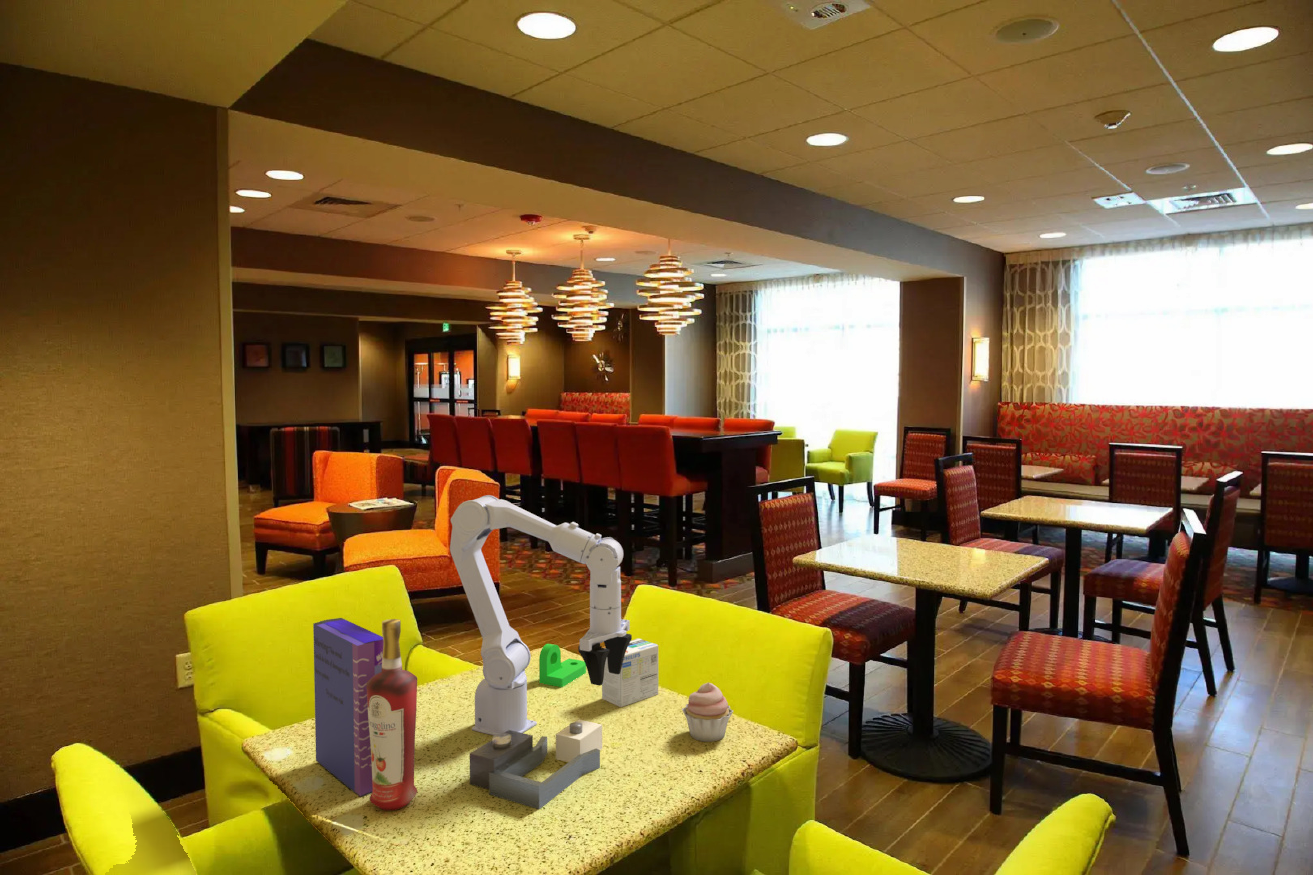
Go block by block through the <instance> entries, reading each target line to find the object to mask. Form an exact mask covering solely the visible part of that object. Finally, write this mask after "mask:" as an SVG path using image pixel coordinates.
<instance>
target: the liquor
mask: <svg viewBox="0 0 1313 875" xmlns="http://www.w3.org/2000/svg"><path fill="white" fill-rule="evenodd" d="M401 628H402V627H401V620H400V619H398V618H397V619H396V618H392V619H385V620H382V622H381V633H382V634H381V636H382V637H383V641H384V645H383V658H382V671H381V672H380V673H378V674H376V675H374V676H373V677H372V678H371V679H370V680H369V681H368V682H367V684H366V687H367V703H368V720H369V732H370V744H371V762H372V785H373V792H372V793H371V794H370V796H369V801H370V802H371V804H372V805H374V806H375V807H376V808H379V809H380V810H382V811H389V812H390V811H391V812H392V811H397V810H401V809H402V808H404V807H406V806H408V804H409V803H410V802H412V800H413V799H414V798H415V797H416V795H417V793H418V789H417V787H416V785H415V751H416V750H415V749H416V728H417V727H416V725H417V709H418V708H417V706H418V705H417V703H418V702H417V699H418V677H417V676H416V675H415V674H413V673H412V672H411V671H409V670H406V669H403V663H402V655H401V647H400V637H401V630H402V629H401Z"/></svg>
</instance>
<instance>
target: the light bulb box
mask: <svg viewBox="0 0 1313 875" xmlns="http://www.w3.org/2000/svg"><path fill="white" fill-rule="evenodd" d="M604 648H605V647H604ZM605 649H606V648H605ZM656 695H659V645H658V644H657V643H655V642H654V643H653V642H650V641H647V640H644V639H642V638H635V639H632V640H631V641H630V643H629V645H628V647H627V650H626V652H625V656H624V660H623V664H622V668H621V672H620V674H613V673H609V670H608V662H607V658H606V662H605V668H604V679H603V683H602V685H601V699H602V700H603V701H606V702H608V703H610V704H612V705H614V706H617V707H619V708H623V707H626V706H628V705H631V704H635V703H637V702H640V701H642V700H646V699H649V698H652V697H655V696H656Z"/></svg>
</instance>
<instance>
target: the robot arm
mask: <svg viewBox="0 0 1313 875" xmlns="http://www.w3.org/2000/svg"><path fill="white" fill-rule="evenodd" d="M450 523H451V525H452V529H451V535H450V536H451V537H450V546H449V551H450V554H451V558H452V560H453V563H454V565H455V568H456V570H457V573H458V576H459V578H460V581H461V584H462V587H463V590H464V592H465V594H466V598H467V600H468V603H469V606H470V608H471V610H472V613H473V616H474V619H475V622H476V624H477V627H478V629H479V632H480V635H481V637H482V644H481V649H480V656H481V658H482V663H483V664H482V665H483V666H482V674H483V677H484V678H483V679H482V680H481V681H480V682H479V683H478V684H477V686H476V689H475V694H474V726H472V727H471V730H472V731H475V732H479V733H482V734H487V735H491V736H494V735H496V734H500V733H505V732H506V731H508V730H512V731H516V732H520V733H525V732H527V731H528V730H531V729H532V728H533V727H534V726H536V725H537V723H538V722H537V721H536V720H531V719H528V682H527V681H528V677H527V675H526V669H527V668H528V666H529V664H530V662H531V659H532V658H531V657H532V656H531V651H530V648H529V647H528V645H527V644H526V643H524V642H523V641H522V639H521V637H520V635H519V632H518V631H517V630H515V629H514V628H513V627H512V626H510V622H509V621H508V619H507V618H508V617H507V615H506V613H505V610H504V608H503V605H502V603H501V602H502V601H501V600H500V596H499V594H498V592H497V589H496V587H495V584H494V581H493V579H492V574H491V573H490V570H489V567H488V565H487V563H486V560H485V557H484V554H483V552H482V548H483V546H484V544H485V542H486V540H487V538H488V537H489V535H490V534H491V533H492V532H493V530H497V529H503V528H511V529H514V530H517V531H520V532H521V533H525V534H527V535H530V536H533V537H536V538H537V539H540V540H543V541H545V542H548V543H549V545H550V548H551V549H552V551H553V552H555V553H557V554H560V555H562V556H564V557H567V558H568V559H571V560H573V561H576V562H577V563H580V564H583V565H586V567H587V569H588V570H589V572H590V575H589V577H590V580H589V629H588V630H587V631H586V633H585V634H584V635H583V637H581V638H579V645H578V653H579V655H580V656H581V657H582V661H584V662H585V664H586V671H587V673H588V674H587V675H588V677H589V678H588V679H589V681H590V684H591V685H594V686H601V687H602V683H603V679H604V668H605V662H606V658H607V662H608V670H609V673H613V674H620V672H621V668H622V664H623V660H624V656H625V652H626V650H627V647H628V645H629V643H630V641H632V640H633V639H632V638H633V637H632V634H631V633H627V632H628V631H630V628H631V626H630V624H631V622H630V619H629V620H628V619H623V618H622V580H621V566H620V564H621V563H622V562H623V558H624V549H623V547H622V545H621V544H620V542H618V541H617V540H615V539H614V538H613V537H611V536H609V537H608V536H607V537H602V534H600V533H596V534H594V533H592V532H590V531H587V530H584V529H582V528H580V527H579V524H578V523H576V522H575V521H572V522H570V523H569V522H563V523H561V524H558V525H557V524H554V523H552V522H550V521H548V520H546V519H544V518H541V517H540V516H537V515H536V514H534V513H531V512H530V511H527V510H525V509H523V508H522V507H519V506H517V505H515V504H513V503H511V502H510V501H508V500H505V499H502V498H501V499H499V498H498V497H495V496H494V495H490V494H487V495H483V496H481V497H479V498H476V499H472V500H470V499H469V500H465V501H463V502H462V503H460V504H459V505H458V506H457V508H456V509H455V511H454V512H453V514H452V516H451V517H450ZM601 643H603V644H604V647H602V645H601ZM605 648H606V649H605Z"/></svg>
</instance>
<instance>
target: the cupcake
mask: <svg viewBox="0 0 1313 875" xmlns="http://www.w3.org/2000/svg"><path fill="white" fill-rule="evenodd" d="M728 704H729V703H728V701H727V698H726V697H725V696H724V695H723V693H722V691H721V689H720V688H719V687H717V686H716V685H714V684H713V683H710V682H706V683H703V684H702V685H700V687H699V688H698V689H697V691H694V692H692V693H690V695H689V697H688V703H686V704H685V707H682V709H681V710H682V712H683V714H684V716H685V719H686V722H687V726H688V730H689V731H688V732H689V734H690V737H691V738H692V739H693V740H696V741H699V742H706V743H711V742H718V741H720V740H722V739H723V738H725V735H726V731H727V726H728V723H729V720H730V718H731V716H732V715H733V713H734V710H733V709H731V706H730V705H728Z"/></svg>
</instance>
